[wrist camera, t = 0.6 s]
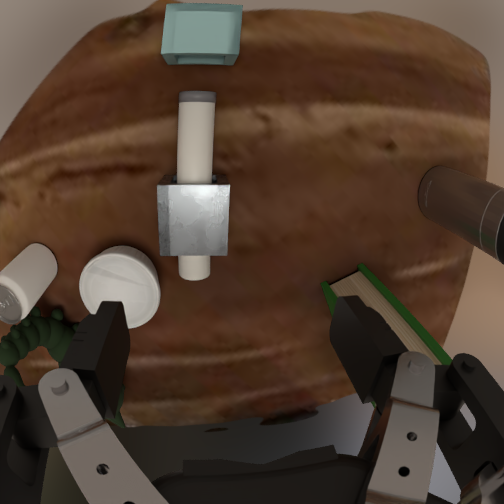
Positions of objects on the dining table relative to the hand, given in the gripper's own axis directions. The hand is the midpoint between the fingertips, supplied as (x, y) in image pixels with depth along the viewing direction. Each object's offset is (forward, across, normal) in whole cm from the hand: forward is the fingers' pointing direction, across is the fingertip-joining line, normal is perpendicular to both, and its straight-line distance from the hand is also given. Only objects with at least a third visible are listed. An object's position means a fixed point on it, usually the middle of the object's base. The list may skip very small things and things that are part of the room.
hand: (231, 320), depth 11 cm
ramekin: (+29, +12, +14) cm, 35 cm away
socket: (+29, +2, -17) cm, 34 cm away
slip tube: (+29, +2, +1) cm, 29 cm away
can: (+29, +26, +12) cm, 41 cm away
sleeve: (+29, +2, +4) cm, 30 cm away
